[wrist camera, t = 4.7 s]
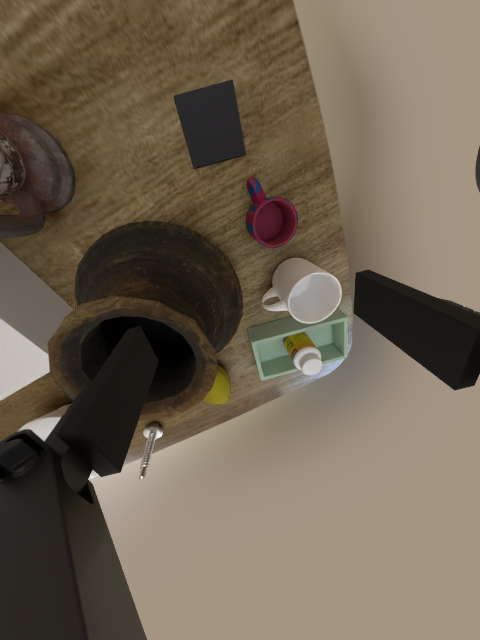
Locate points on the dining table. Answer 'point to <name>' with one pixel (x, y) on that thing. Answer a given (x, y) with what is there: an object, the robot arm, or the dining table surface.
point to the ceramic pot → (150, 312)
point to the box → (25, 323)
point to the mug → (304, 291)
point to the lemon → (219, 388)
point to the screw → (149, 446)
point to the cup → (270, 217)
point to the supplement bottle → (303, 353)
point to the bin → (269, 336)
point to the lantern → (31, 175)
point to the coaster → (211, 123)
